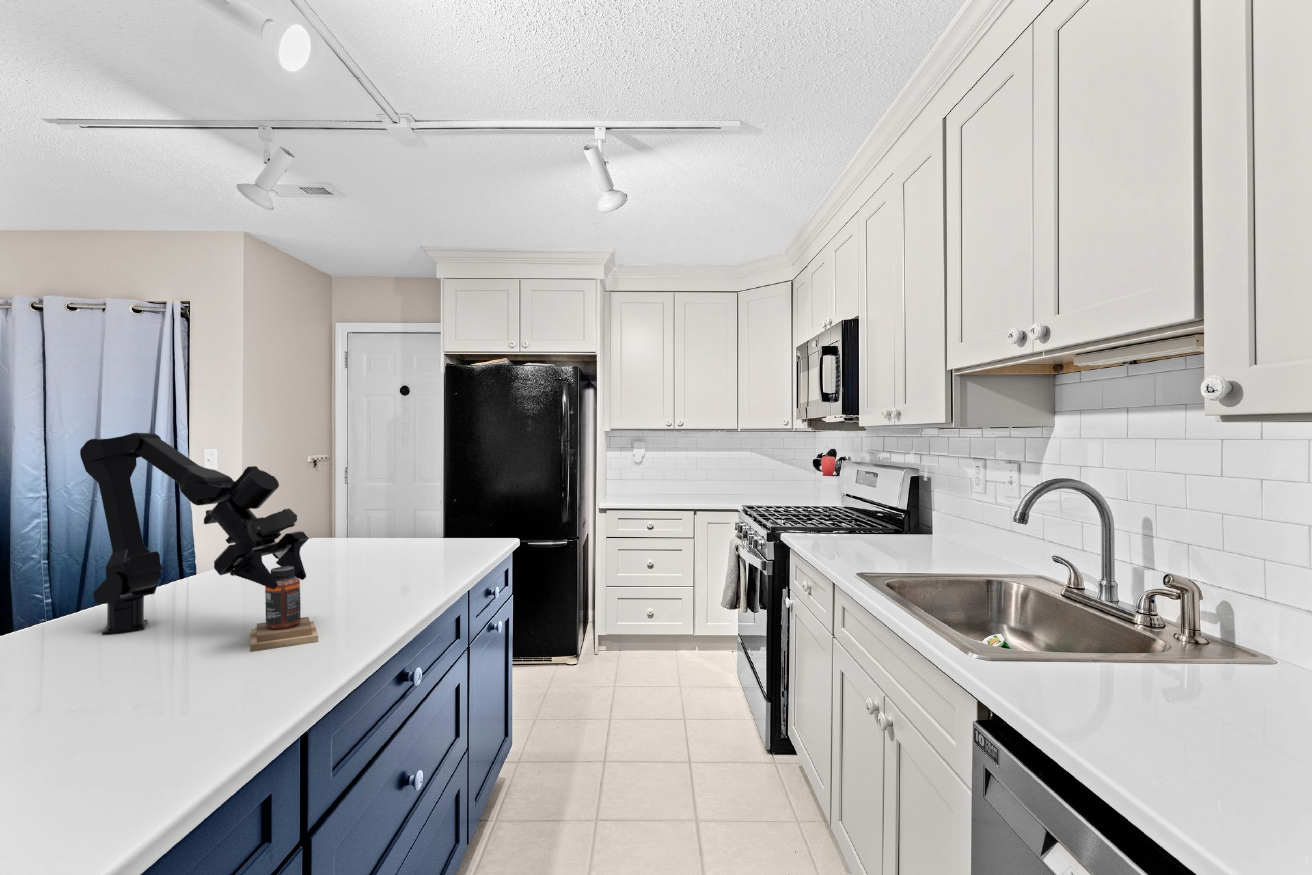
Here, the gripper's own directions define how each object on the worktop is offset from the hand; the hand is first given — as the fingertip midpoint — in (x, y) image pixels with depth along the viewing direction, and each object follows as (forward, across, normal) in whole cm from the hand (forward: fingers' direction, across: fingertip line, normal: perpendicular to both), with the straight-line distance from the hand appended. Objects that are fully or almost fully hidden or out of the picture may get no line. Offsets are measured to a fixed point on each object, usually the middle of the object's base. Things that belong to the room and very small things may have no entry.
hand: (290, 582), depth 123 cm
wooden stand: (+7, 0, +9) cm, 11 cm away
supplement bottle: (+5, 0, +7) cm, 9 cm away
